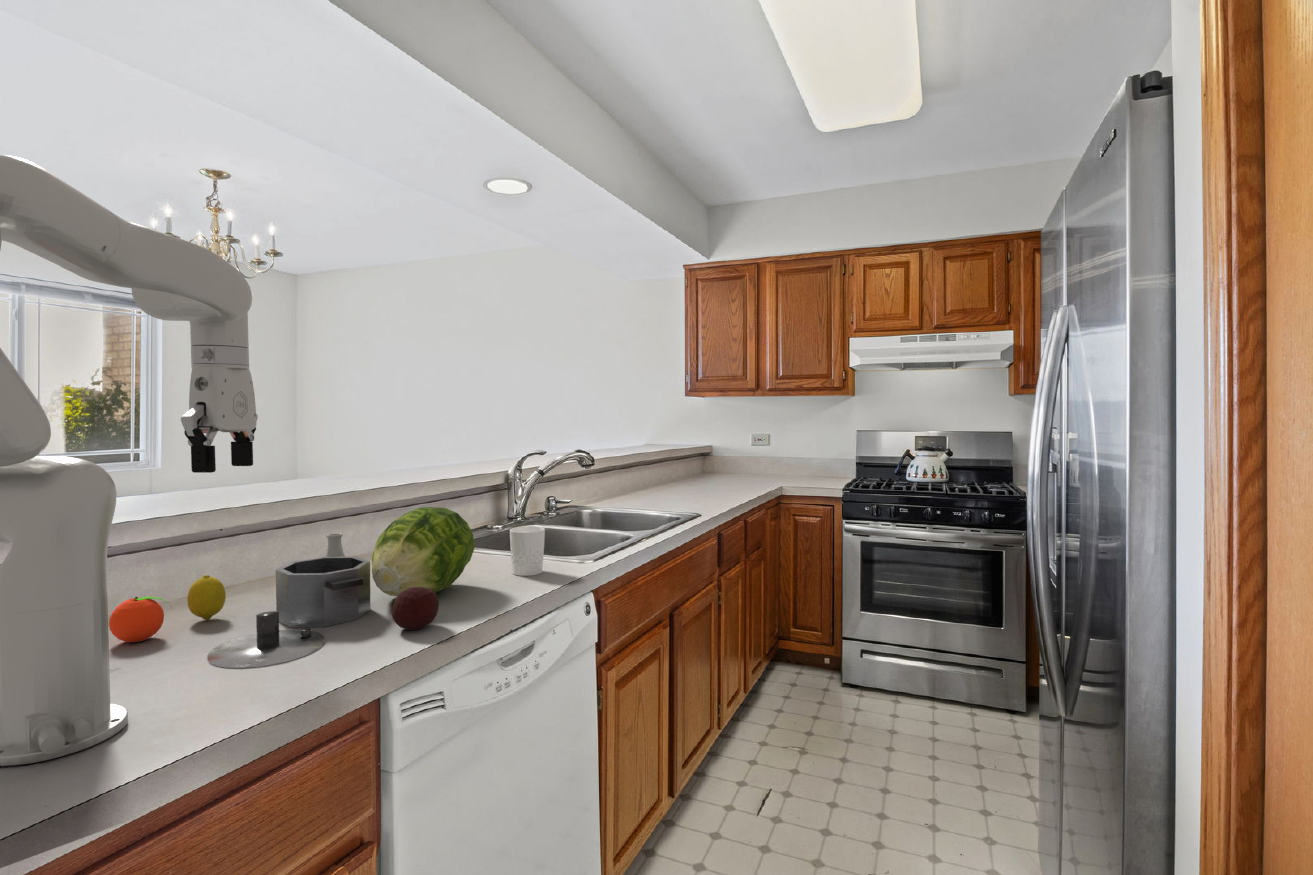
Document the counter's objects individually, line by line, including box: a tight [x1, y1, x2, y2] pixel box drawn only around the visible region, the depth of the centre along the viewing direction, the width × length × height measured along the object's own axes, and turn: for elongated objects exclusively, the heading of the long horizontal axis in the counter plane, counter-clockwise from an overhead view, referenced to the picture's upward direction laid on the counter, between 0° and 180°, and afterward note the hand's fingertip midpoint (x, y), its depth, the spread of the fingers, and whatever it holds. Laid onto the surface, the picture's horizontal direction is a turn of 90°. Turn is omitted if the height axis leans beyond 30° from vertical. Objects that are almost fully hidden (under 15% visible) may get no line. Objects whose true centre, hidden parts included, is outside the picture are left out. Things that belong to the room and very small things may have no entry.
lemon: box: [187, 574, 227, 621], centre depth 115 cm, size 6×6×8 cm
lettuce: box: [371, 506, 475, 597], centre depth 132 cm, size 17×23×17 cm
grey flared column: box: [324, 532, 346, 557], centre depth 144 cm, size 7×7×10 cm
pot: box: [275, 556, 372, 629], centre depth 119 cm, size 19×14×9 cm
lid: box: [206, 610, 326, 669], centre depth 102 cm, size 16×16×6 cm
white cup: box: [509, 525, 546, 577], centre depth 151 cm, size 8×8×10 cm
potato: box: [391, 587, 440, 631], centre depth 112 cm, size 7×8×7 cm
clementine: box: [108, 596, 173, 643], centre depth 105 cm, size 8×7×7 cm
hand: (224, 468), depth 103 cm, fingers open, 9 cm apart
